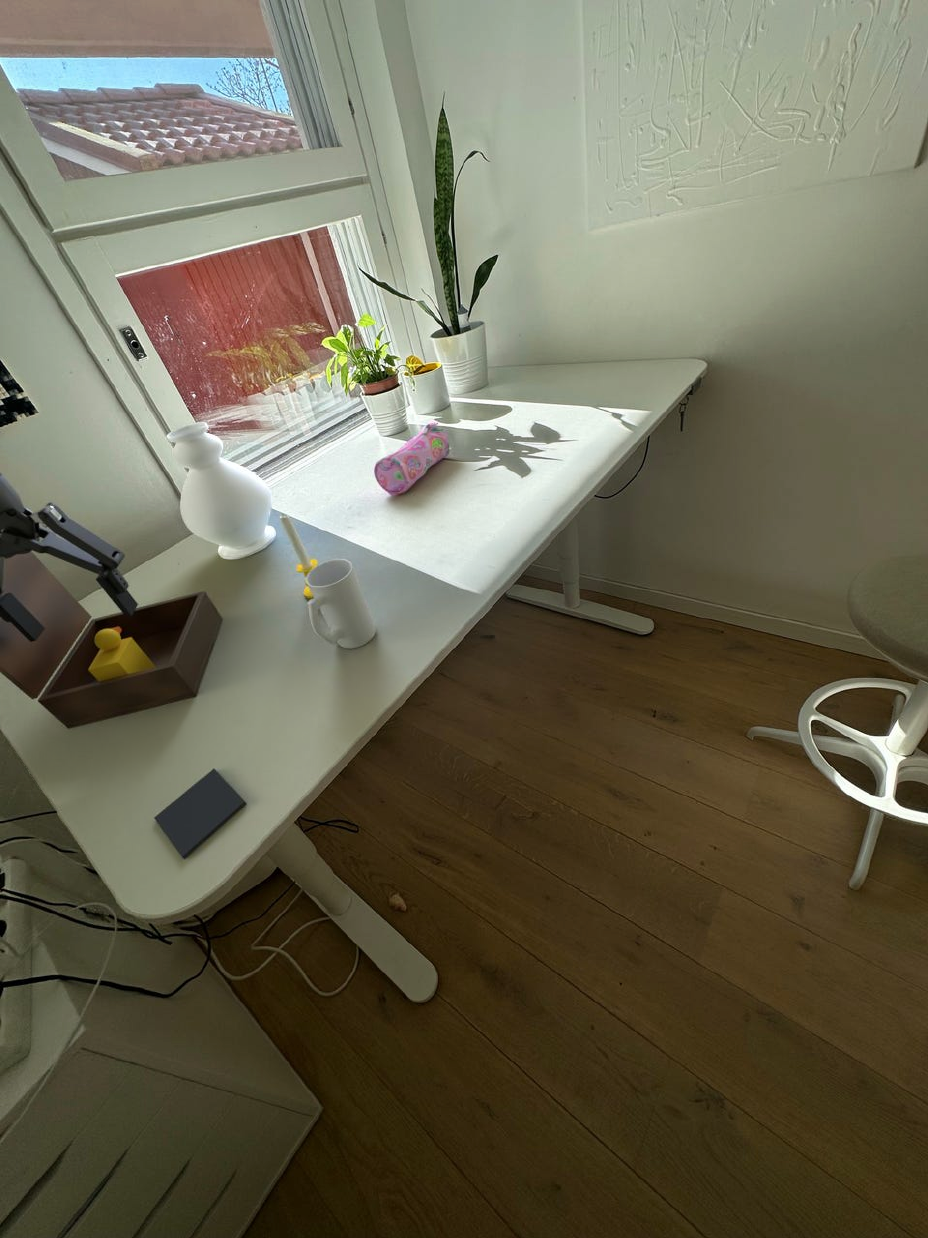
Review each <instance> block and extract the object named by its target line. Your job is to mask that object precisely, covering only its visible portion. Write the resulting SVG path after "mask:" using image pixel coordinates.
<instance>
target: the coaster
mask: <svg viewBox="0 0 928 1238" xmlns="http://www.w3.org/2000/svg"><path fill="white" fill-rule="evenodd" d="M246 805H247V802H246V801H245V799H243V798H242V796H240V794H238V792H237V791H236V790H235V789H234V787H232V786H231V785H230V783H229V782H227V781H226V779H225V778H224V777H223V776H222V775H221V774H220V773H219V771H217V770H216V769H215V768H213V769H211V770H210V771H209V772H207V773H206V774H205V775H204V776H203V777H201V778H200V779H199V780H198V781H196V783H194V784H193V785H192V786H191V787H189V788H188V789H187V790H186V791H184V792H183V793H182V794H181V795H179V796H178V797H176V799H175V800H174V801H172V802H171V803H170V804H169V805H168V806H166V807H165V808H164V809H162V810H161V811H160V812H159V813H158V814H156V815H155V816H154V817H153V819H154V820H155V821H156V823H157V824H158V826H159V828H161V830H162V831H163V833H164V835H165V836H166V837H167V839H168V840H169V841H170V843H171V844H172V846H173V847H174V849H175V850H176V851H177V853H178V855H180V857H181V858H182V859H183V860H185V859H186V858H188V857H189V856H190V855H191V854H192V853H193V852H195V850H197V848H198V847H200V846H201V845H202V844H204V843H205V842H206V840H208V839H209V838H210V837H211V836H213V834H214V833H216V832H217V831H218V830H219V829H220V828H221V827H222V826H223V825H224V824H226V823H227V822H228V821H229V820H230V819H231V818H233V816H235V815H236V814H237V813H238V812H239V811H240V810H242V809H243V808H244V807H245V806H246Z"/></svg>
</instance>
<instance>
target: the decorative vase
mask: <svg viewBox="0 0 928 1238" xmlns="http://www.w3.org/2000/svg"><path fill="white" fill-rule="evenodd" d="M208 429H209V424H208V423H207V422H206V421H198V422H193V423H189V424H186V425H183V426H181V427H177V428H176V429H173V430H172V431H169V433H168V434H167V435H166V439H167V441H168V442H170V443H175V444H174V447H173V449H172V451H171V458H172V460H173V462H174V463H175V464H176V465H178V466H179V467H182V468H185V469H188V471H187V475H186V477H185V479H184V482H183V485H182V489H181V495H180V503H179V504H180V505H179V507H180V509H179V512H180V516H181V518H182V521H183V523H184V525H185V526H186V527H187V530H189V531H190V532H191V533H192V534H193V535H196V536H197V537H198V538H200V539H203V540H204V541H208V542H211V543H213V544H215V545H219V547H218V548H217V552H218V553H217V554H218V555H219V557H221V558H222V559H225V560H239V559H243V558H247V557H250V556H252V555H255V554H257V553H259V552H260V551H262V550H264V549H266V548H267V547H269V545H271V544H272V543H273V541H274V540H275V539H276V536H277V531H276V530H275V527H273V526H272V525H268V523H269V520H270V516H271V514H272V513H271V512H272V508H273V496H272V493H271V490H270V488H269V487H268V485H267V483H266V482H265V481H264V480H263V479H262V478H261V477H259V476H258V474H256V473H254V472H253V471H251V470H249V469H247V468H246V467H244V466H242V465H240V464H238V463H235V462H232V461H230V460H228V459H225V458H223V457H221V456H222V454H223V451H224V443H223V441H222V440H221V438H219V437H218V436H217V435H215V434H211V433H208V432H207V431H208Z"/></svg>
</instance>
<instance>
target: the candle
mask: <svg viewBox="0 0 928 1238" xmlns="http://www.w3.org/2000/svg"><path fill="white" fill-rule="evenodd" d="M281 514H282V515H280V516H278V517H279V520H280V522H281V524H282V527H283V529H284V532H285V533H286V535H287V538H288V540H289V542H290V545H291V546H292V549H293V550H294V553H295V554H296V556H297V559H298V561H299V564H297V565H296V566H295V570H296V572H297V573H303V576H304V577H305V580H304V584H305V585H306V586H305V588H304V589H303V591H302V592H303V595H304V597H305V598H306V599H310V600H311V599H314V597H313V595H312V593H311V591H310V589H309V587H308V585H307V583H306V577H307V575H308V573H309V572H310V571H311V570H312V569H313V568H315V567H316V566H318V565H319V560H317V559H316V558H310V557H309V554H308V552H307V550H306V548H305V546H304V544H303V542H302V540H301V537H300V535H299V534H298V531H297V529H296V527H295V525H294V523H293V521H292V519H291V518H290V515H288V514H284V513H281Z"/></svg>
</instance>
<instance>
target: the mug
mask: <svg viewBox="0 0 928 1238" xmlns="http://www.w3.org/2000/svg"><path fill="white" fill-rule="evenodd" d="M305 579H306V583H307V585H308V587H309V589H310V591H311V593H312V595H313V597H314V599H310V600H309V601H308V602H306V605H307V607H308V616H309V622H310V625H311V628H312V629H313V631H314V633H315V634H316V635H317V637H319V639H321V640H322V641H323V642H325V643H326V644H328V645H332V646H333V645H335V644H336V643H337V645H338V646H339V647H342V648H343V649H357V648H360V647H362V646H365V645H366V644H368V643H369V642H370V641H371V640H372V639H373V638H374V637H375V635H376V633H377V629H376V624H375V622H374V619H373V616H372V613H371V611H370V608H369V606H368V602H367V600H366V598H365V595H364V592H363V590H362V587H361V585H360V582H359V579H358V576H357V574H356V571H355V569H354V567H353V564H352V562H351V561H349V560H348V559H345V558H333V559H329V560H326V561H324V562H321V563H318V564H317V566H316V567H315V568H313V569H312V570H311V571H310V572H309V573H308V575H307V577H305ZM307 585H306V586H307ZM319 610H320V612H321V614H322V616H323V619H324V620H325V622H326V623H327V626H328V627H329V629H330V632H329V633H327V632H326V631H325V630H324V629H323V628H322V626H321V624H320V621H319Z"/></svg>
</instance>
